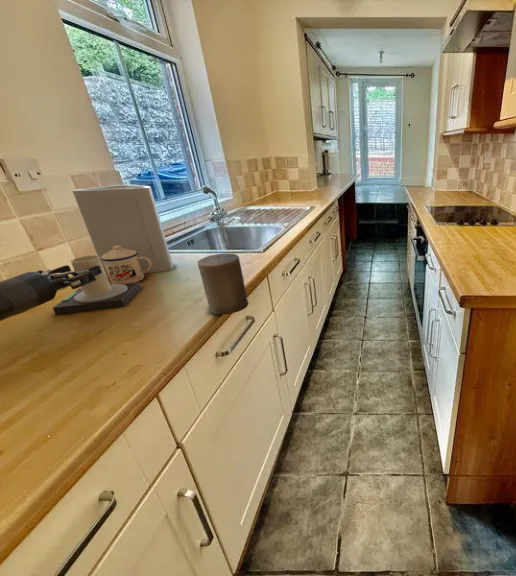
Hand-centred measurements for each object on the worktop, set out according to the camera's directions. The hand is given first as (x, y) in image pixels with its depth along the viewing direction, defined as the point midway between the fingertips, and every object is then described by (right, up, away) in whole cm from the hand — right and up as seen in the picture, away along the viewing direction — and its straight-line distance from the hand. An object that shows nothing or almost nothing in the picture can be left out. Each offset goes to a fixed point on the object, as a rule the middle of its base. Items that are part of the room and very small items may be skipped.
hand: (84, 268), depth 85 cm
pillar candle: (+38, -10, +1) cm, 40 cm away
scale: (0, -9, +5) cm, 10 cm away
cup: (0, -6, +4) cm, 8 cm away
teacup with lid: (-2, -3, +19) cm, 19 cm away
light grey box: (-7, +2, +30) cm, 31 cm away
